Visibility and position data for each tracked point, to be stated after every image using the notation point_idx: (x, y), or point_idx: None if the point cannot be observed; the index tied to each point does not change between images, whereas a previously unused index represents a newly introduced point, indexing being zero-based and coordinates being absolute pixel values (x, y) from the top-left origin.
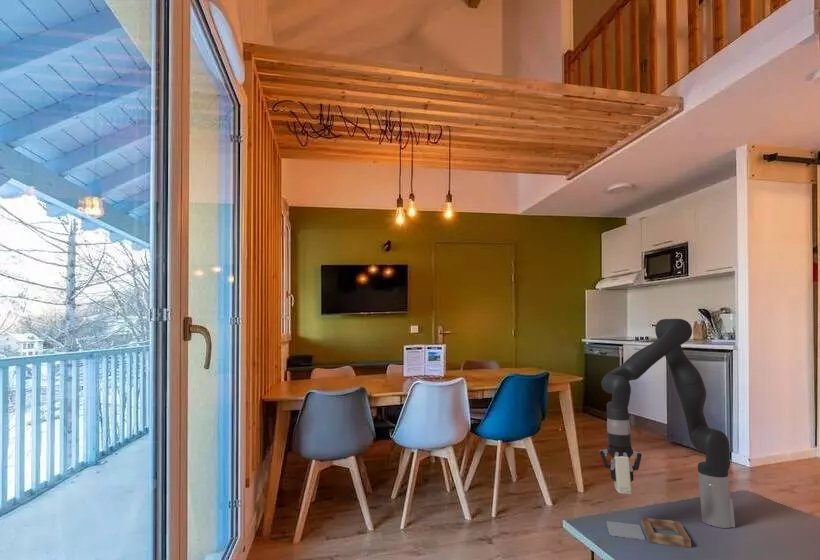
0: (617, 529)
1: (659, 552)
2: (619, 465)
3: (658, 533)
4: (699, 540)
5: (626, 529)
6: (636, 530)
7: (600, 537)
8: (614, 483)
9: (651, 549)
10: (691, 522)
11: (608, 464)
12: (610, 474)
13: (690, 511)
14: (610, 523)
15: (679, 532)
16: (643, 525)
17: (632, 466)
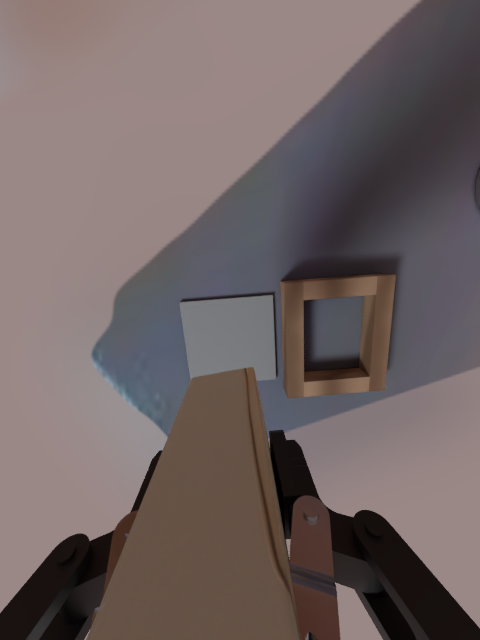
0: (210, 349)
1: (296, 424)
2: None
3: (313, 382)
4: (407, 332)
5: (234, 340)
6: (260, 338)
7: (170, 400)
8: (186, 392)
9: (281, 417)
10: (433, 206)
11: (93, 603)
12: (147, 475)
13: (472, 87)
14: (191, 315)
15: (370, 352)
16: (282, 311)
17: (339, 569)
